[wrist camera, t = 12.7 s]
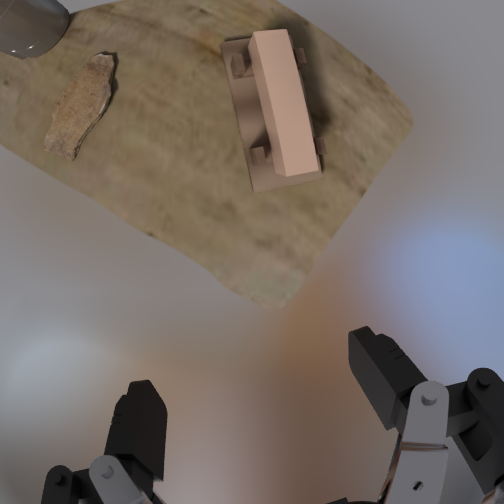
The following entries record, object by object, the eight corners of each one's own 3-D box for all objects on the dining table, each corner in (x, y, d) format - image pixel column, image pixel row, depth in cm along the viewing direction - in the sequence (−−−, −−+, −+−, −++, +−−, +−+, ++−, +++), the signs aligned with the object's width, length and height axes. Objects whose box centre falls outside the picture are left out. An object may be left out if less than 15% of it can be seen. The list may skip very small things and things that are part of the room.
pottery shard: (86, 54, 27) (43, 150, 30) (80, 48, 25) (34, 149, 27) (133, 65, 29) (88, 166, 32) (130, 58, 27) (81, 165, 29)
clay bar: (275, 173, 33) (286, 176, 28) (247, 47, 27) (253, 31, 22) (303, 167, 33) (318, 170, 28) (276, 44, 27) (286, 29, 22)
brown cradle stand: (318, 177, 36) (335, 182, 31) (252, 191, 36) (259, 198, 31) (287, 38, 29) (299, 22, 24) (219, 46, 29) (221, 30, 24)
